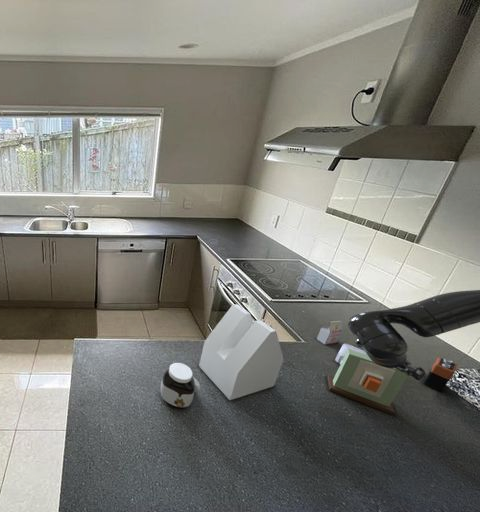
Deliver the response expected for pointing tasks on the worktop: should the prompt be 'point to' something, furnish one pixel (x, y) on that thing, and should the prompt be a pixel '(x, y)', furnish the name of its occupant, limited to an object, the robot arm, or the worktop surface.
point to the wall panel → (355, 376)
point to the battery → (440, 374)
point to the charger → (344, 350)
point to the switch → (372, 384)
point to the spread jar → (178, 386)
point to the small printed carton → (330, 332)
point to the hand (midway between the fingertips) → (390, 361)
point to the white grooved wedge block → (241, 354)
